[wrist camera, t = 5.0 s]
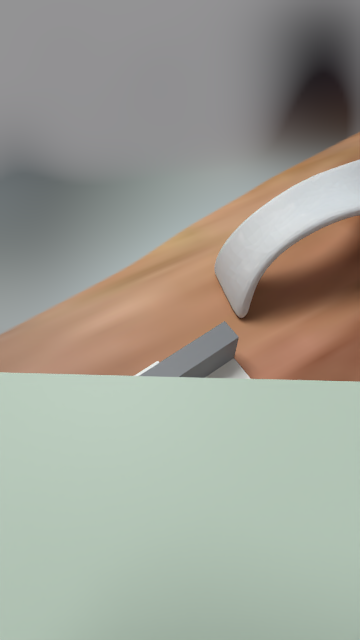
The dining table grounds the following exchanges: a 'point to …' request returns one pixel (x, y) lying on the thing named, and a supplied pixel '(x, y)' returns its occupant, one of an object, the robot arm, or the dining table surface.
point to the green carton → (178, 508)
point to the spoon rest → (284, 229)
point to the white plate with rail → (203, 358)
